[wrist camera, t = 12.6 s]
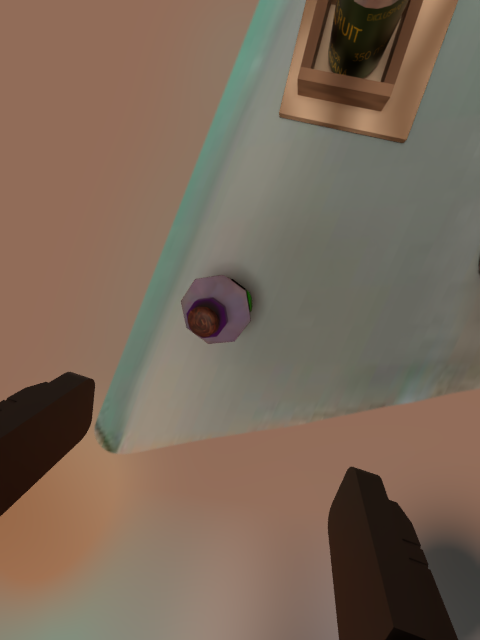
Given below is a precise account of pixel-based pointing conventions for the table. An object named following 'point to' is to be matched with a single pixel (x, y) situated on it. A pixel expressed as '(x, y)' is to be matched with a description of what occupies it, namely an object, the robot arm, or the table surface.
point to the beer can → (362, 34)
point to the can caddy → (376, 88)
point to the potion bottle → (216, 309)
